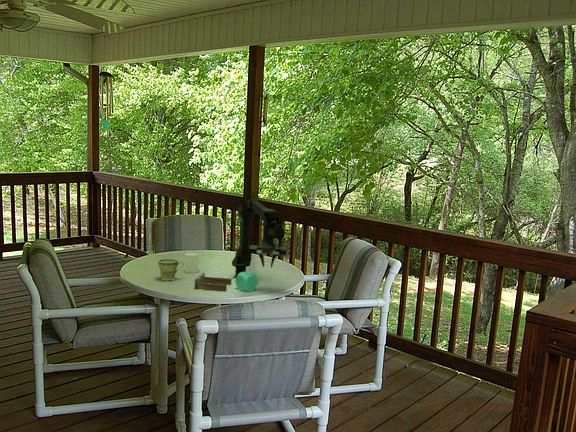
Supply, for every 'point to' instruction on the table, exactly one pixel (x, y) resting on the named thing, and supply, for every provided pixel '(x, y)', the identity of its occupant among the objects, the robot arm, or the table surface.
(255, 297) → the table surface
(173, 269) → the ceramic cup
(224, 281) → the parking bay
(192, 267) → the white cup
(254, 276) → the decorative dice
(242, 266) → the robot arm
